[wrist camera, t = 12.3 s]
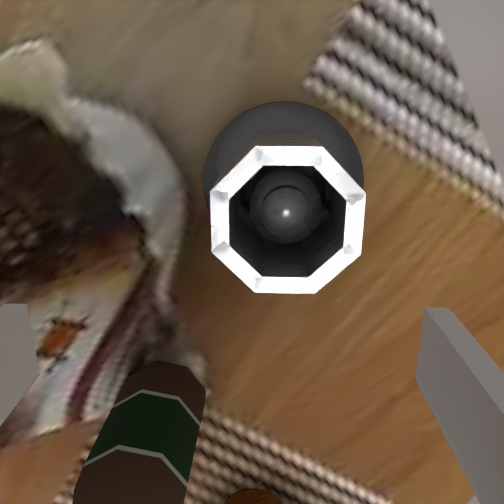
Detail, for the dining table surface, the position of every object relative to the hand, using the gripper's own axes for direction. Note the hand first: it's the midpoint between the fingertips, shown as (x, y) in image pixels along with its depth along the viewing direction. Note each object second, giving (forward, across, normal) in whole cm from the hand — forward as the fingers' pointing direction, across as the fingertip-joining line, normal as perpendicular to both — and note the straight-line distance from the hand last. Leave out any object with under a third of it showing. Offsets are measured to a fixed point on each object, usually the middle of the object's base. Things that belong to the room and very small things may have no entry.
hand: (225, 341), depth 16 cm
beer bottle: (+22, -7, -18) cm, 30 cm away
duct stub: (+22, +3, +1) cm, 22 cm away
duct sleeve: (+21, +3, +1) cm, 21 cm away
